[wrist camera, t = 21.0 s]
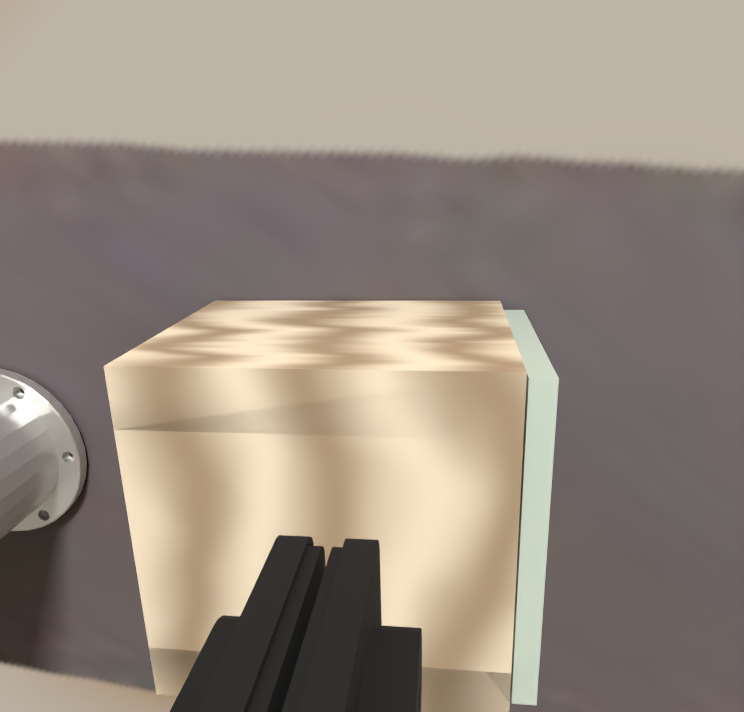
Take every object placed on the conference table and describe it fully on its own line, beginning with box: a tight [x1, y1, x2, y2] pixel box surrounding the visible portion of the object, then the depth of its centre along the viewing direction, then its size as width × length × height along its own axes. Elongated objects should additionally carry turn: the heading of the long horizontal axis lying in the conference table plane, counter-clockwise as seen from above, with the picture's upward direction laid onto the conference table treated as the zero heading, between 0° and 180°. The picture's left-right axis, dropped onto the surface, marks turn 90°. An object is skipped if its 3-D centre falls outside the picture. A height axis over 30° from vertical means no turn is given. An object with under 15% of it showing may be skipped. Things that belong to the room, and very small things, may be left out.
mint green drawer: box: [504, 310, 559, 705], centre depth 35 cm, size 17×17×12 cm
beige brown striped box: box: [104, 301, 527, 712], centre depth 35 cm, size 18×18×14 cm
